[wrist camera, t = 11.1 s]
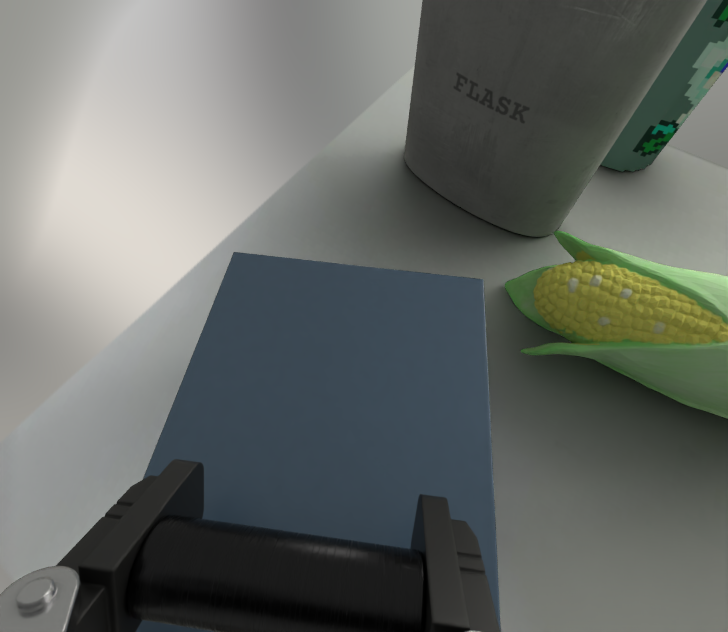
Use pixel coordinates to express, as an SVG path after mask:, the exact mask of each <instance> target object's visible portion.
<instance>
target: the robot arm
mask: <svg viewBox="0 0 728 632" xmlns="http://www.w3.org/2000/svg"><path fill="white" fill-rule="evenodd" d="M203 512H204V466H203V464H202V463H201V462H194V461H187V460H180V459H174V460H172V461H171V462H170V463H169V465H168V466H167V467H166V468H165V469H164V470H163V471H162V472H161V474H160V475H159V476H152V475H150V476H148V477H147V478H145V479H143V480H142V481H140V482H138V483H137V484H135V485H133V486H132V487H130V489H129V490H128V491H127V492H126V493H125V494H124V495H123V496H122V497H121V498H120V499H119V500H118V501H117V504H114V505H113V506H112V507H111V508H110V510H109V511H108V512H107V513H106V514H105V517H102V518H101V519H100V520H99V521H98V522H97V523H96V524H95V525H94V526H93V527H92V528H91V529H90V531H89V532H88V533H87V534H86V535H85V536H84V537H83V538H82V539H81V540H80V541H79V542H78V543H77V544H76V545H75V546H74V547H73V548H72V549H71V550H70V552H69V553H68V554H67V555H66V556H65V557H64V558H63V559H62V560H61V561H60V562H59V563H58V564H57V565H56V566H52V567H47V568H43V569H39V570H37V571H34V572H32V573H29V574H27V575H25V576H24V577H22V578H20V579H18V580H17V581H15V582H14V583H12V584H11V585H10V586H9V587H8V588H6V589H5V590H4V591H3V592H2V593H1V594H0V632H136V630H137V629H138V627H139V625H140V624H141V622H142V620H139V619H134V618H133V617H132V616H131V615H130V614H129V613H128V610H127V604H126V597H127V589H128V583H129V579H130V575H131V572H132V568H133V565H134V563H135V560H136V558H137V555H138V553H139V551H140V548H141V546H142V544H143V543H144V541H145V539H146V537H147V536H148V534H149V533H150V531H151V530H152V528H153V527H154V526H155V525H156V523H157V522H158V521H159V520H161V519H162V518H163V517H165V516H168V515H179V516H186V517H193V518H200V519H202V517H203ZM411 549H415V550H419V551H421V552H422V554H423V557H424V561H425V569H426V619H425V632H500V628H499V624H498V620H497V616H496V612H495V608H494V604H493V600H492V596H491V592H490V588H489V584H488V580H487V575H485V567H484V563H483V560H482V555H481V551H480V547H479V543H478V539H477V537H476V535H475V534H474V532H473V531H472V530H471V528H470V527H469V525H468V524H467V522H466V521H461V520H454V519H451V517H450V511H449V505H448V500H447V498H445V497H438V496H430V495H423V494H420V495H419V498H418V503H417V509H416V515H415V521H414V527H413V533H412V540H411Z"/></svg>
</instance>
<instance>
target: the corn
mask: <svg viewBox="0 0 728 632" xmlns="http://www.w3.org/2000/svg"><path fill="white" fill-rule="evenodd" d="M554 235H555V237H556V238H557V240H558V241H559V243H560V244H561V245H562V246H563V247H564V249H565V250H566V251H567V252H568V253H569V254H570V255H571V256H572V257H573V258H574V259H575V260H576V261H575V262H574V263H571V262H569V263H565V264H561V265H552V266H546V267H542V268H539V269H536V270H533V271H530V272H528V273H526V274H524V275H522V276H520V277H518V278H515V279H513V280H510V281H508V282H507V283H506V284H505V289H506V291H507V292H508V293H509V295H510V297H511V299H512V301H513V302H514V304H515V305H516V307H517V308H518V309H519V310H520V311H521V312H522V313H523V314H524V315H525V316H526V317H528V318H529V319H531V320H532V321H534V322H535V323H537V324H538V325H540V326H542V327H543V328H545V329H547V330H549V331H552V332H554V333H557V334H559V335H561V336H563V337H565V338H566V339H567V340H569V341H570V342H572V343H563V342H559V343H547V344H544V345H541V346H538V347H534V348H526V349H522V350H521V353H525V354H529V355H548V354H564V355H574V356H581V357H585V358H590V359H594V360H596V361H598V362H599V363H601V364H603V365H605V366H607V367H609V368H611V369H613V370H615V371H617V372H619V373H621V374H623V375H625V376H627V377H629V378H632V379H633V380H635V381H637V382H639V383H641V384H643V385H645V386H646V387H648V388H651V389H653V390H655V391H657V392H660V393H662V394H664V395H666V396H668V397H670V398H672V399H674V400H676V401H678V402H680V403H682V404H684V405H687V406H689V407H693V408H697V409H700V410H704V411H707V412H709V413H712V414H715V415H718V416H721V417H724V418H727V419H728V276H723V275H718V274H713V273H707V272H700V271H694V270H687V269H681V268H675V267H670V266H666V265H662V264H658V263H655V262H651V261H647V260H644V259H641V258H638V257H635V256H632V255H628V254H625V253H622V252H618V251H615V250H611V249H608V248H604V247H600V246H596V245H592V244H589V243H587V242H585V241H583V240H581V239H578V238H576V237H574V236H572V235H570V234H568V233H565V232H562V231H555V232H554Z"/></svg>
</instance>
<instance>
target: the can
mask: <svg viewBox="0 0 728 632" xmlns="http://www.w3.org/2000/svg"><path fill="white" fill-rule="evenodd" d="M727 67H728V0H707V1H706V3H705V5H704V6H703V8H702V9H701V11H700V12H699V14H698V15H697V17H696V18H695V20H694V21H693V23H692V24H691V26H690V28H689V29H688V31H687V32H686V34H685V35H684V37H683V38H682V40H681V41H680V43H679V44H678V46H677V48H676V49H675V51H674V52H673V54H672V55H671V57H670V58H669V60H668V61H667V63H666V64H665V66H664V67H663V69H662V71H661V72H660V74H659V75H658V77H657V78H656V80H655V81H654V83H653V84H652V86H651V87H650V89H649V90H648V92H647V94H646V95H645V97H644V98H643V100H642V101H641V103H640V104H639V106H638V107H637V109H636V110H635V112H634V113H633V115H632V117H631V118H630V120H629V121H628V123H627V124H626V126H625V127H624V129H623V130H622V132H621V133H620V135H619V137H618V138H617V140H616V141H615V143H614V144H613V146H612V147H611V149H610V150H609V152H608V153H607V155H606V156H605V158H604V160H603V161H602V163H601V164H600V165H602V166H605V167H609V168H612V169H615V170H618V171H621V172H624V170H628V171H631V172H634V171H635V170H638V171H639V170H640V168H642V169H645V168H646V166H647V165H651V163H652V162H653V161H654V159H655V158H656V157H657V156H658V154H659V153H660V152H661V151H662V149H663V148H664V147H665V146H666V144H667V143H668V142H669V140H670V139H671V138H672V137H673V135H674V134H675V133H676V131H677V130H678V129H679V127H680V126H681V125H682V124H683V123H684V121H685V120H686V119H687V118H688V116H689V115H690V114H691V112H692V111H693V110H694V109H695V107H696V106H697V105H698V104H699V102H700V101H701V100H702V98H703V97H704V96H705V95H706V93H707V92H708V91H709V90H710V88H711V87H712V86H713V84H714V83H715V82H716V81H717V79H718V78H719V77H720V76H721V74H722V73H723V72H724V70H725V69H726V68H727Z"/></svg>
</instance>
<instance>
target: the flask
mask: <svg viewBox="0 0 728 632" xmlns="http://www.w3.org/2000/svg"><path fill="white" fill-rule="evenodd" d="M706 1H707V0H423V2H422V10H421V18H420V27H419V36H418V44H417V52H416V62H415V69H414V77H413V86H412V94H411V103H410V111H409V119H408V128H407V136H406V145H405V153H404V159H405V161H406V163H407V165H408V167H409V168H410V169H411V170H412V172H413V173H414V174H415V175H416V176H418V177H419V178H420V179H421V180H422V181H423V182H425V183H426V184H427V185H428V186H430V187H431V188H432V189H433V190H435V191H436V192H438V193H439V194H440V195H442V196H443V197H445V198H446V199H448V200H449V201H451V202H453V203H454V204H456V205H457V206H459V207H461V208H463V209H464V210H466V211H468V212H470V213H472V214H473V215H475V216H477V217H479V218H481V219H483V220H485V221H488V222H490V223H492V224H494V225H496V226H499V227H501V228H504V229H506V230H509V231H511V232H514V233H518V234H522V235H526V236H535V237H541V236H546V235H550V234H552V233H553V232H555V231H556V230H557V229H559V227H560V226H561V224H562V222H563V221H564V219H565V218H566V216H567V215H568V213H569V212H570V210H571V209H572V207H573V206H574V204H575V202H576V201H577V199H578V198H579V196H580V195H581V193H582V192H583V190H584V189H585V187H586V186H587V184H588V183H589V181H590V179H591V178H592V176H593V175H594V173H595V172H596V170H597V169H598V167H599V166H600V164H601V163H602V161H603V160H604V158H605V156H606V155H607V153H608V152H609V150H610V149H611V147H612V146H613V144H614V143H615V141H616V140H617V138H618V137H619V135H620V133H621V132H622V130H623V129H624V127H625V126H626V124H627V123H628V121H629V120H630V118H631V117H632V115H633V113H634V112H635V110H636V109H637V107H638V106H639V104H640V103H641V101H642V100H643V98H644V97H645V95H646V94H647V92H648V90H649V89H650V87H651V86H652V84H653V83H654V81H655V80H656V78H657V77H658V75H659V74H660V72H661V71H662V69H663V67H664V66H665V64H666V63H667V61H668V60H669V58H670V57H671V55H672V54H673V52H674V51H675V49H676V48H677V46H678V44H679V43H680V41H681V40H682V38H683V37H684V35H685V34H686V32H687V31H688V29H689V28H690V26H691V24H692V23H693V21H694V20H695V18H696V17H697V15H698V14H699V12H700V11H701V9H702V8H703V6H704V5H705V3H706Z"/></svg>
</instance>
